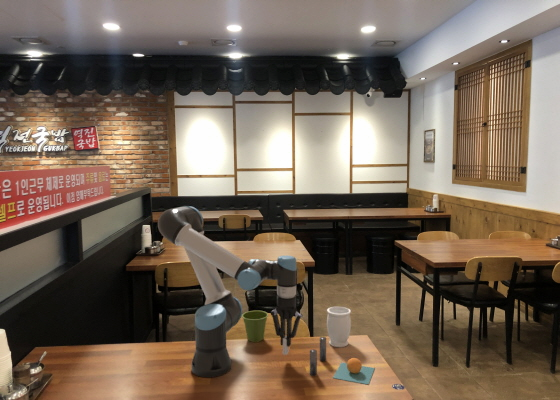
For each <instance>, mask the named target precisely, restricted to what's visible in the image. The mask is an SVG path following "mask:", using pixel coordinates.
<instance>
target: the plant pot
mask: <svg viewBox="0 0 560 400" xmlns="http://www.w3.org/2000/svg"><path fill="white" fill-rule="evenodd" d="M268 316H269V313H268V312H266V311H263V310H250V311H246V312H242V316H241V318H242V319H243V323H244V327H245V331H246V338H247V340H248V342H251V343H259V342H261V341H263V340H264V338H265V332H266V324H267V320H268Z"/></svg>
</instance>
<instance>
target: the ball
mask: <svg viewBox="0 0 560 400" xmlns="http://www.w3.org/2000/svg"><path fill="white" fill-rule="evenodd" d="M346 363H347V369H348V370H349V371H350V372H351V373H353V374H356V373H359V372H360V370H361V368H362V366H363V365H362V362H361V360H359V358H356V357H351V358H350V359H348V360H347V362H346Z"/></svg>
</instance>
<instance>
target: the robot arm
mask: <svg viewBox="0 0 560 400" xmlns="http://www.w3.org/2000/svg"><path fill="white" fill-rule="evenodd" d="M203 223H204V219H203V215H202V213H201V212H200V210H199V209H197V208H195V207H194V206H190V205H183V206H180V207H174V208H169V209H166V210H164V211H163V212H162V213H160V215H159V217H158V221H157V228H158V231H159V233H160V234H161V236H163V238H164V239H166V240H167V241H169V242H170V243H172V244H173V245H175V246H176V247H179V246H181V247H183V248H184V251H185V253H186V255H187V257H188V259H189V262H190V264H191V267H192V268H193V271H194V274H195V276H196V279H197V281H198V282H199V285H200V287H201V289H202V292H203V293H204V294H203V295H204V296H205V302H204V305H203V306H201V307H199V308H197V310H196V311H195V314H194V317H195V318H194V330H195V331H194V336H195V341H194V342H195V350H194V355H193V356H192V357H193V358H192V360H191V363H190V364H191V366H190V368H191V372H192V374H194V375H195V376H197V377H201V378H215V377H220V376H223V375H225V374H227V373H228V372H230V370H232V360H231V357H230V354H229V351H228V348H227V333H228V332H229V331H230V330H231V329H232V328H233V327H235V326H236V325H238V323H239V322H240V320H241V318H242V314H243V306H242V303H241V301H240V300H239V299H238V298H237V297H235V296H233V294H232V291H231V290H228V289H226V287H225V285H224V282H223V280H222V277H221V276H220V273H219V272H218V269H219V270H220V271H222V272H223V273H225V274H227V275H228V276H229V277H231V278H233V279H235V280H236V281H237V284H238V286H239V288H241V289H243V290H245V291H251V290H254V289H256V288H258V286H260V285H261V283H263V282H264V281H265V280H272V281H276V294H277V295H276V307H275V309H273V310H271V311H270V316H271V317H272V321H273V325H274V329H275V335H276V336H279V337H280V345H281V346H282V355H284V356H287V355H288V354H289V351H290V349H289V348H290V346H291V345H292V339H294V338H295V336H297V333H298V332H297V331H298V328H299V324H300V320H301V318H302V317H303V314H302V313H299V312H298V309H297V270H298V268H297V259H296V257H295V256H292V255H280V256H278V257H277V259H276V260H270V259H260V258H256V259H255V258H252V259H249V260H248V262H247V261H246V260H244V259H243V258H241V257H239V256H237V255H235V253H233V252H231V251H230V250H228V249H226V248H224V247H223V246H221V245H219V244H218V243H217V242H215V241H213V240H212V239H210V238H208V237H206V236H205V235H204V234H205V231H204V228H203ZM294 316H295V317H294ZM293 317H294V318H295V320H294V323H292V322H293ZM279 319H280V320H279Z"/></svg>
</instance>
